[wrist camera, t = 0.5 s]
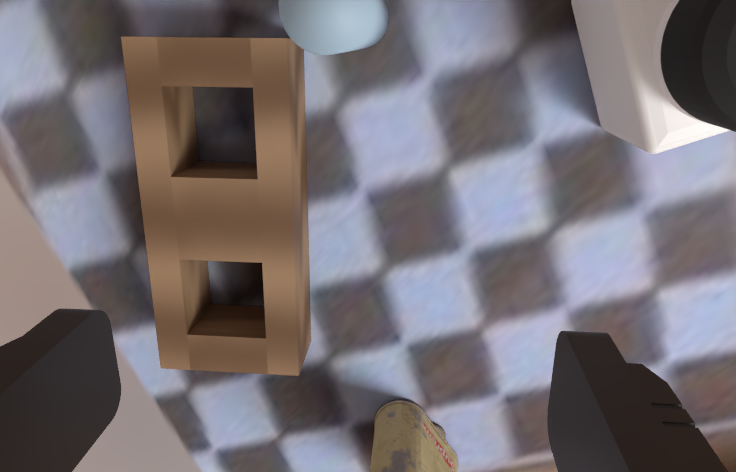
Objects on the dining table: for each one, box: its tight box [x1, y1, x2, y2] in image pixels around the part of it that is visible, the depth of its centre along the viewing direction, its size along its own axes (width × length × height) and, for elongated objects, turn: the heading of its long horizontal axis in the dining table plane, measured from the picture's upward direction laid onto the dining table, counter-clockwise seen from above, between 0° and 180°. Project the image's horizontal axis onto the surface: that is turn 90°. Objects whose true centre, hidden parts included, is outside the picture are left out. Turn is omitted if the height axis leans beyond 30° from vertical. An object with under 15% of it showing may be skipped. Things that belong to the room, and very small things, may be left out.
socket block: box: [121, 37, 311, 376], centre depth 32 cm, size 18×8×4 cm, turn 179°
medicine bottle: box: [571, 0, 736, 154], centre depth 24 cm, size 7×7×12 cm
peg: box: [279, 0, 389, 55], centre depth 25 cm, size 3×3×12 cm
